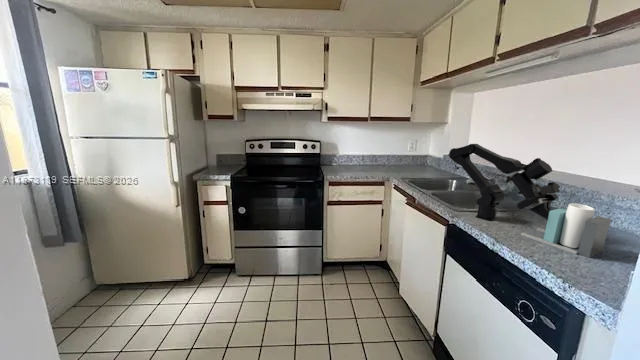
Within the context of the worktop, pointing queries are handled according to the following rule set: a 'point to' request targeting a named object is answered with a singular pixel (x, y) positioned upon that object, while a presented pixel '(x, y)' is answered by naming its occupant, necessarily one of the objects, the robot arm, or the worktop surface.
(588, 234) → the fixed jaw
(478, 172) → the robot arm
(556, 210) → the block
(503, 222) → the worktop surface
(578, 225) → the drinking glass
